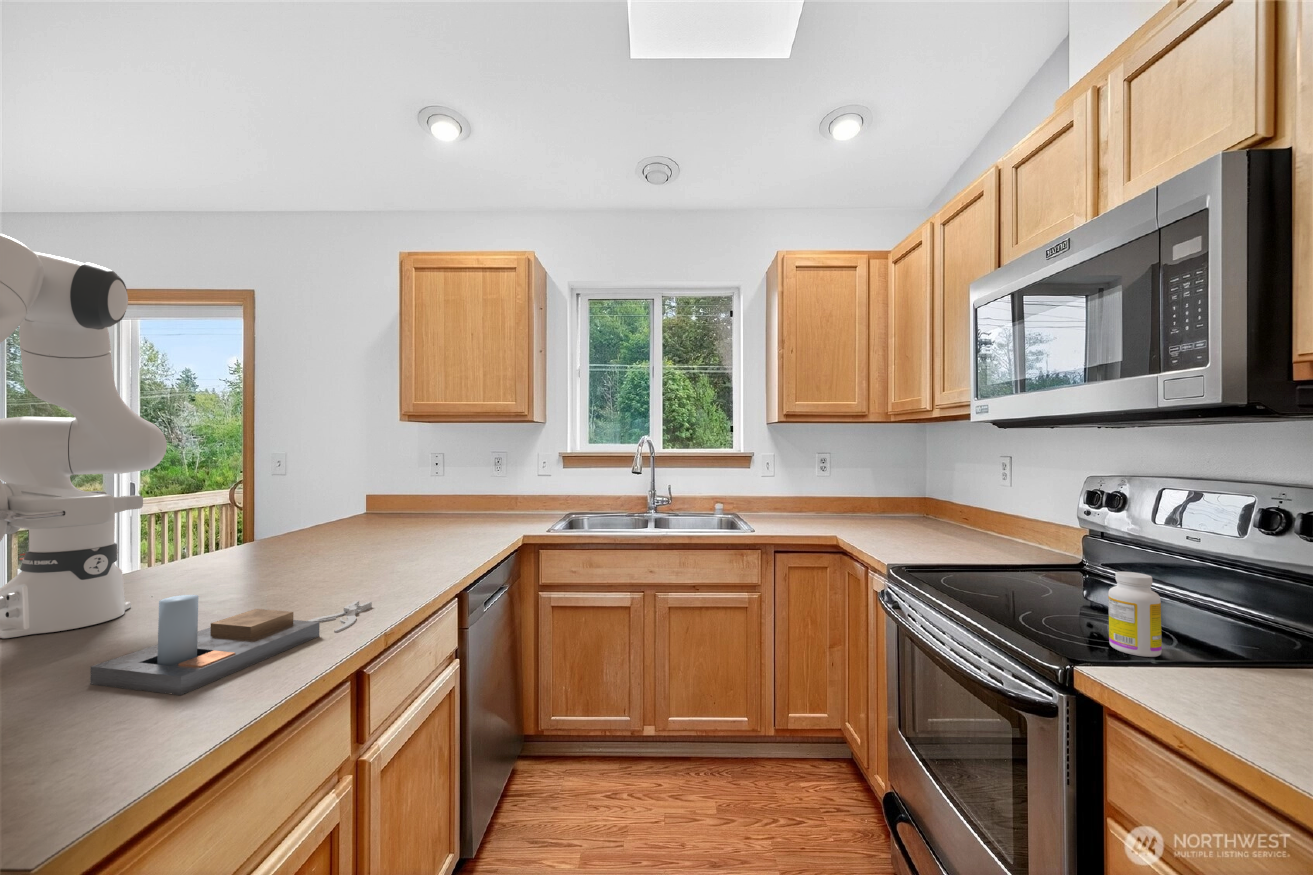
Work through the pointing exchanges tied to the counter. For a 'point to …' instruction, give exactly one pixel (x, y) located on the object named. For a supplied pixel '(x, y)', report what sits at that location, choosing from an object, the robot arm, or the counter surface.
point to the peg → (177, 629)
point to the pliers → (348, 610)
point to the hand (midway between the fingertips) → (121, 499)
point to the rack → (209, 653)
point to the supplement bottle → (1135, 615)
